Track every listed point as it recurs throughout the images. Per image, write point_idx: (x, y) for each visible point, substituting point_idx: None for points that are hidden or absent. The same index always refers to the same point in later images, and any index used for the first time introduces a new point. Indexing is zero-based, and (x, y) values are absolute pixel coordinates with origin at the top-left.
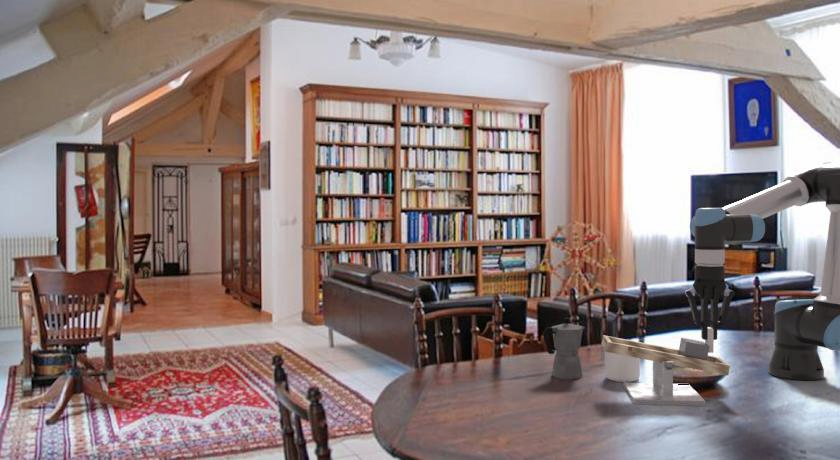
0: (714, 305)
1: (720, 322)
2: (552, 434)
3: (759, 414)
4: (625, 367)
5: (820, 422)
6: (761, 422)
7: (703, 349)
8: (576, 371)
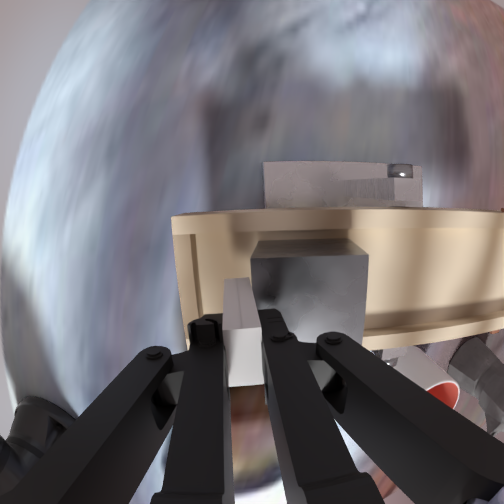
0: (208, 473)
1: (166, 360)
2: (485, 32)
3: (147, 110)
4: (415, 359)
5: (54, 90)
6: (165, 53)
7: (278, 251)
8: (468, 352)
